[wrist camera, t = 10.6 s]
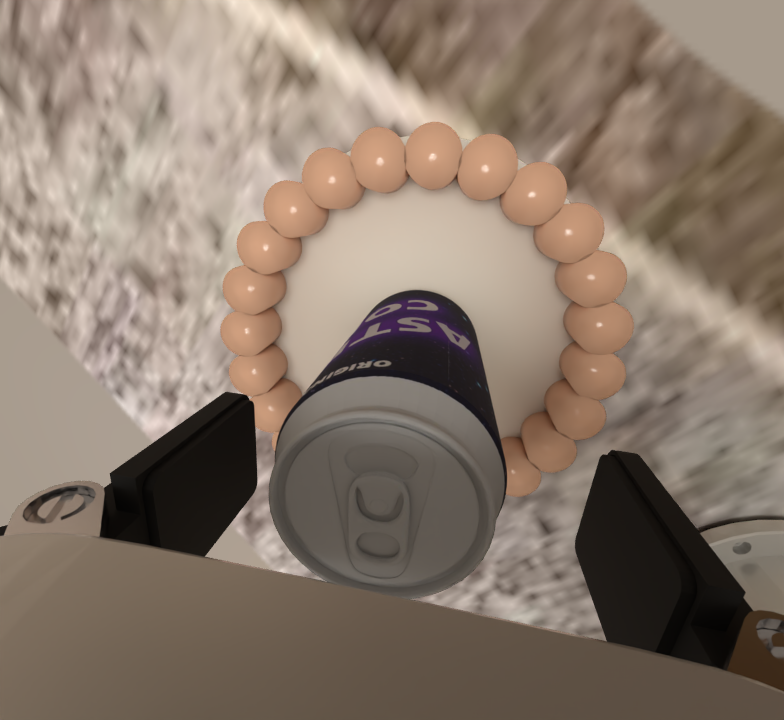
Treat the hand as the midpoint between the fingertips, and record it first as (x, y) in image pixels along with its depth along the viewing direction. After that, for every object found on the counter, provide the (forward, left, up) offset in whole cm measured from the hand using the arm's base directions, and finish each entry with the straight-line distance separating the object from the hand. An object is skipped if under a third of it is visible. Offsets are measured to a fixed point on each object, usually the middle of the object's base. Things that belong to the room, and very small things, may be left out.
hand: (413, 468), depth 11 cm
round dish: (+1, 0, -11) cm, 11 cm away
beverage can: (+1, 0, -10) cm, 10 cm away
